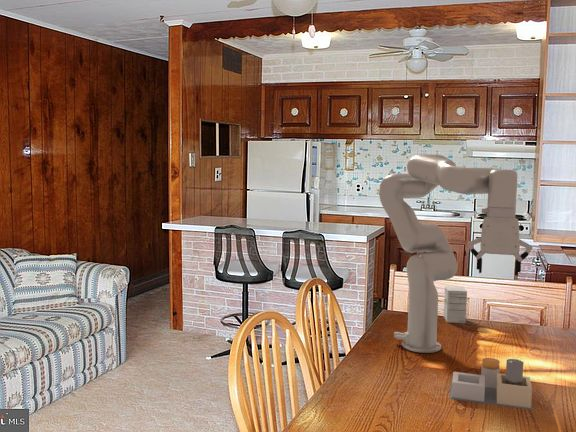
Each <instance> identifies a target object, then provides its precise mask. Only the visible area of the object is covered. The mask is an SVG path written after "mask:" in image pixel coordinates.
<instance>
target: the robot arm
mask: <svg viewBox="0 0 576 432" xmlns="http://www.w3.org/2000/svg"><path fill="white" fill-rule="evenodd" d="M406 170H407V173H393V174H389V175H387V176H385V177H384V178H383V179H382V180H381V181H380V184H379V188H378V189H379V190H378V191H379V192H378V193H379V194H378V195H379V201H380V203H381V206H382V208H383V209H384V212H385V214H386V215H387V216H388V218H389V220H390V222H391V224H392V227H393V229H394V232H395V234H396V237H397V239H398V241H399V243H400V246H401V248H402V249H403V250H404V251H405V252H407V253H416V254H413V255H411V256H410V257H409V258H408V261H407V263H406V275H407V283H408V305H407V307H408V308H407V310H408V311H407V330H406V331H404V332H400V331H393V338H395V339H396V340H399V341H401V340H402V343H401V345H402V347H403V349H405V350H407V351H411V352H414V353H421V354H422V353H423V354H431V353H437V352H439V351H440V350H442V344H441V343H440V342H438V341H437V339H438V338H437V337H438V336H437V335H438V316H439V314H438V313H439V311H438V310H439V292H438V290H437V287H436V285H435V283H434V282H437V281H445V280H450V279H452V278H454V277H455V275H456V274H457V272H458V261H457V258H456V256H455V253H454V251H453V248H452V246H451V245H450V243H449V241H448V238H447V236H446V234H445V232H444V231H443V229H442V228H441V227H440V226H439V225H437V224H435V223H422V222H420V221H419V218H417V215H416V212H415V210H414V209H413V208H412V206H411V205H410V204H409V203H407V202H406V201H405V200H404V199H420V198H424V197H425V196H427V195H429V194H430V193H431V192H432V191H433V190H434V189H436V188H437V187H438V186H440V188H442V189H443V190H446V191H449V192H453V193H457V194H461V195H462V194H463V195H478V194H479V195H485V194H486V195H487V207H485V208H481V214H485V215H486V217H484V218H483V221H482V227H481V234H480V236H479V237H478V238H474V239H472V240H470V241H468V242H467V244H466V245H467V247H468V248H469V251H470V253H471V254H472V255H473V256H474V257H475V259H476V270H478V274H482V271H483V269H482V267H483V256H484V255H485V254H488V255H489V254H490V255H501V256H502V255H505V256H506V255H507V256H513V257H514V258H515V261H514V276H516V277H517V276H518V275H519V273H521V269H522V268H521V267H522V261H523V260H524V259H526V258H527V257H528V256H529V254H530V253H531V251H532V250H533V245H532V244H530V243H527V242H525V241H524V240H522V239H520V224H519V219H518V218H516V212H517V210H516V208H517V193H518V192H517V191H518V190H517V189H518V173H517V171H516V170H514V169H507V168H506V169H503V168H501V169H497V168H490V167H463V166H457V164H456V162H454V161H453V160H452V159H449V158H447V157H446V156H444V155H441V154H432V153H431V154H428V153H427V154H426V153H424V154H423V153H421V154H416V155H414V156H412V157H410V158H409V160H408V161H407V165H406ZM479 243H480V250H479V251H477V249H475V245H476V244H479ZM520 246H521V247H523V248H525V250H524V252H522V253H521V254H519V251H520Z"/></svg>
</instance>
